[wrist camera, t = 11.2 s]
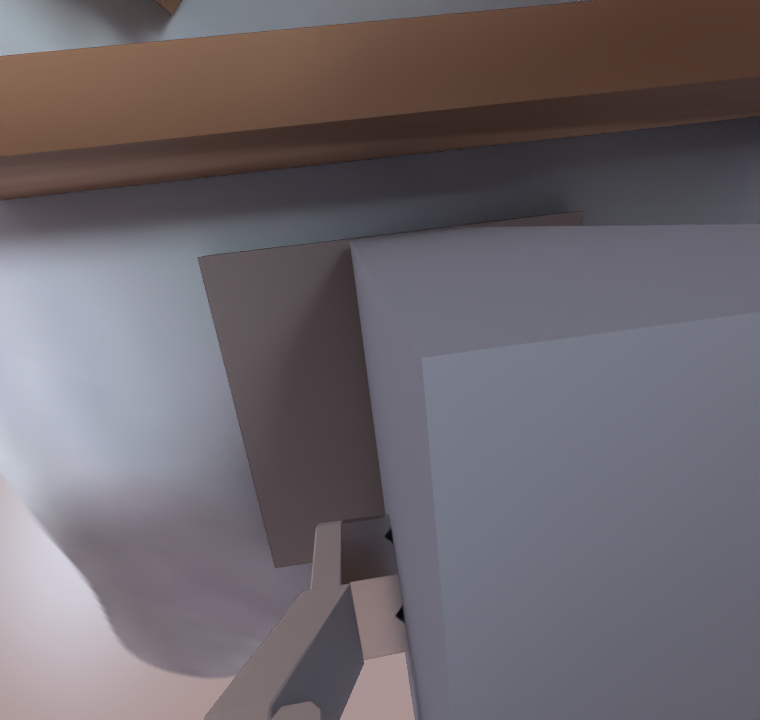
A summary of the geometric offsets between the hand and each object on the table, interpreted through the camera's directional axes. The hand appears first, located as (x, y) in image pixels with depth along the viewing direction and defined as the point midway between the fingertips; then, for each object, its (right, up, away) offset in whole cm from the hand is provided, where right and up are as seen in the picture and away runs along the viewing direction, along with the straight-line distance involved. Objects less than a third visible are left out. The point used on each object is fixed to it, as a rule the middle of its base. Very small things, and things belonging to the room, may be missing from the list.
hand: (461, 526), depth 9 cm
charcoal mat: (-1, +2, +6) cm, 7 cm away
